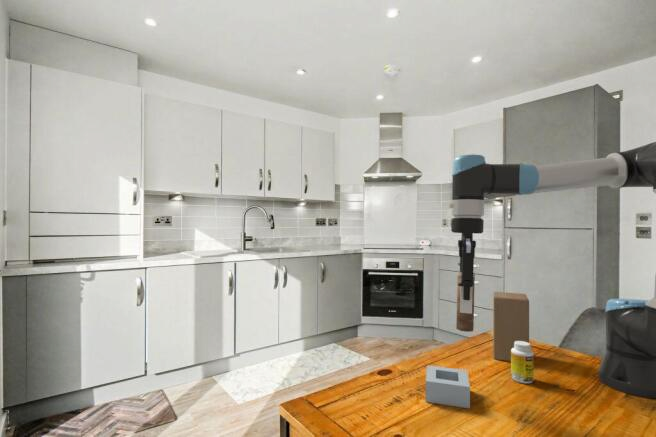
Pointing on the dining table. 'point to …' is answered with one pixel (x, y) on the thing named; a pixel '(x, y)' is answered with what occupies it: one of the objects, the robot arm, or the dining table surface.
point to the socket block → (447, 386)
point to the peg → (464, 319)
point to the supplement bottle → (522, 362)
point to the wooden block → (509, 323)
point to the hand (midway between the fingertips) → (465, 310)
